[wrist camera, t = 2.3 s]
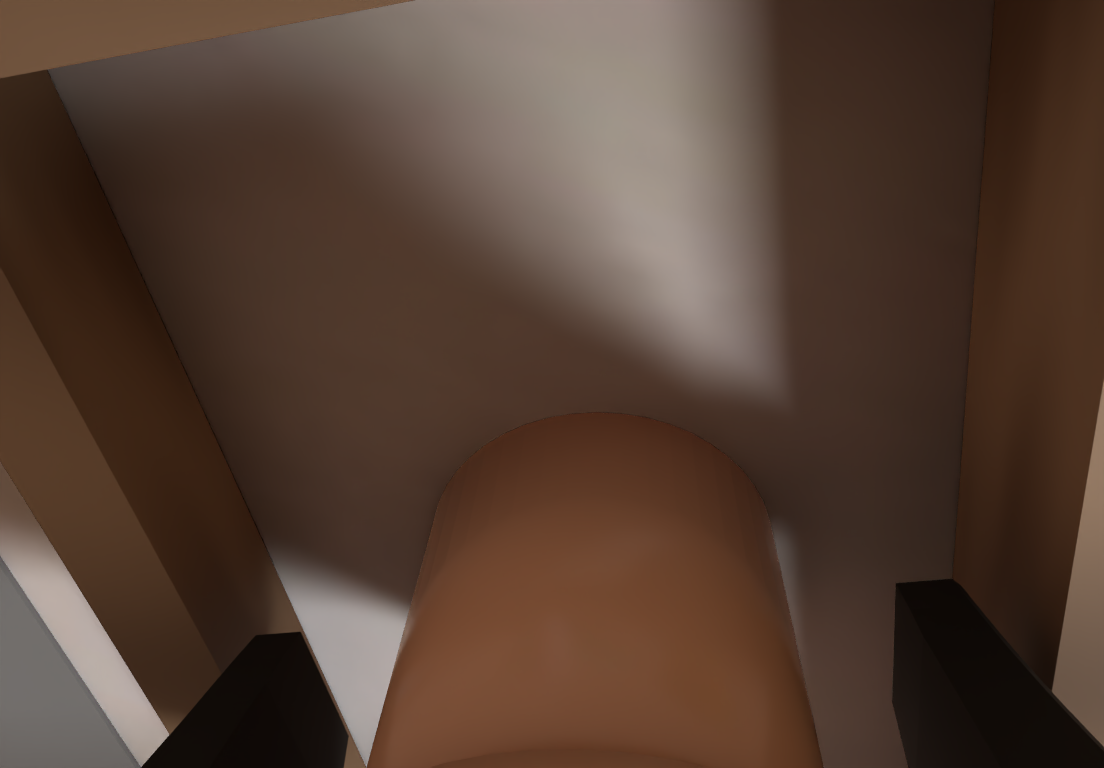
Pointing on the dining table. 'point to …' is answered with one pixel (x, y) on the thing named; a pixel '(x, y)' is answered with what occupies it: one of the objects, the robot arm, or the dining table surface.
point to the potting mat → (47, 697)
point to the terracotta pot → (598, 612)
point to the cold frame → (214, 498)
